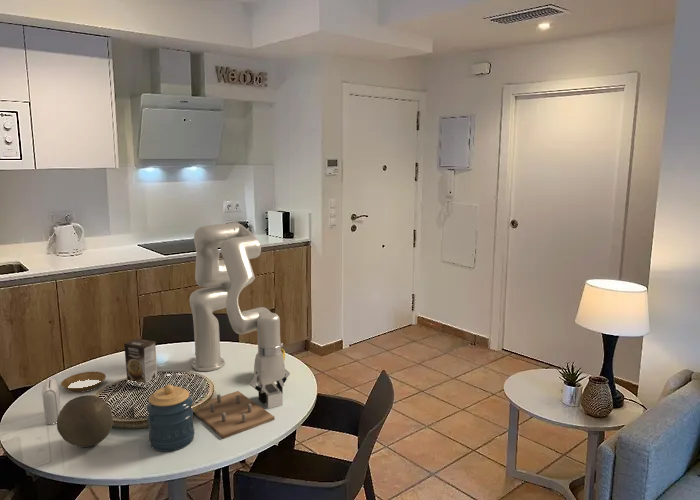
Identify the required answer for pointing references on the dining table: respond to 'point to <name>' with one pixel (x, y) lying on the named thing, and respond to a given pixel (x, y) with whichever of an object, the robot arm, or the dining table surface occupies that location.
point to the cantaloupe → (85, 421)
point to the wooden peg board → (233, 414)
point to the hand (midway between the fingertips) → (270, 398)
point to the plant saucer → (83, 377)
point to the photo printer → (51, 401)
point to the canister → (170, 419)
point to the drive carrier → (273, 395)
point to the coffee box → (140, 360)
